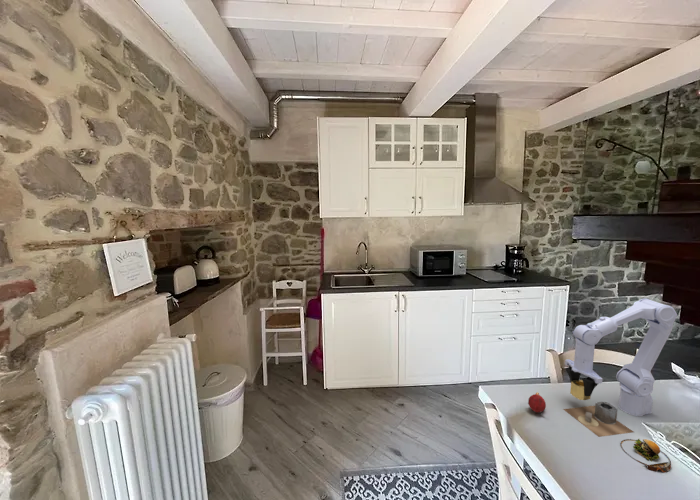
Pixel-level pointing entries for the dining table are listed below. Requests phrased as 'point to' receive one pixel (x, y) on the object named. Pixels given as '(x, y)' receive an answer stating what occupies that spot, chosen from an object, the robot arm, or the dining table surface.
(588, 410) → the gear board
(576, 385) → the yellow porous cube
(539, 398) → the red christmas ornament
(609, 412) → the grey stone pot
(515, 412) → the dining table surface
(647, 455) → the burger
